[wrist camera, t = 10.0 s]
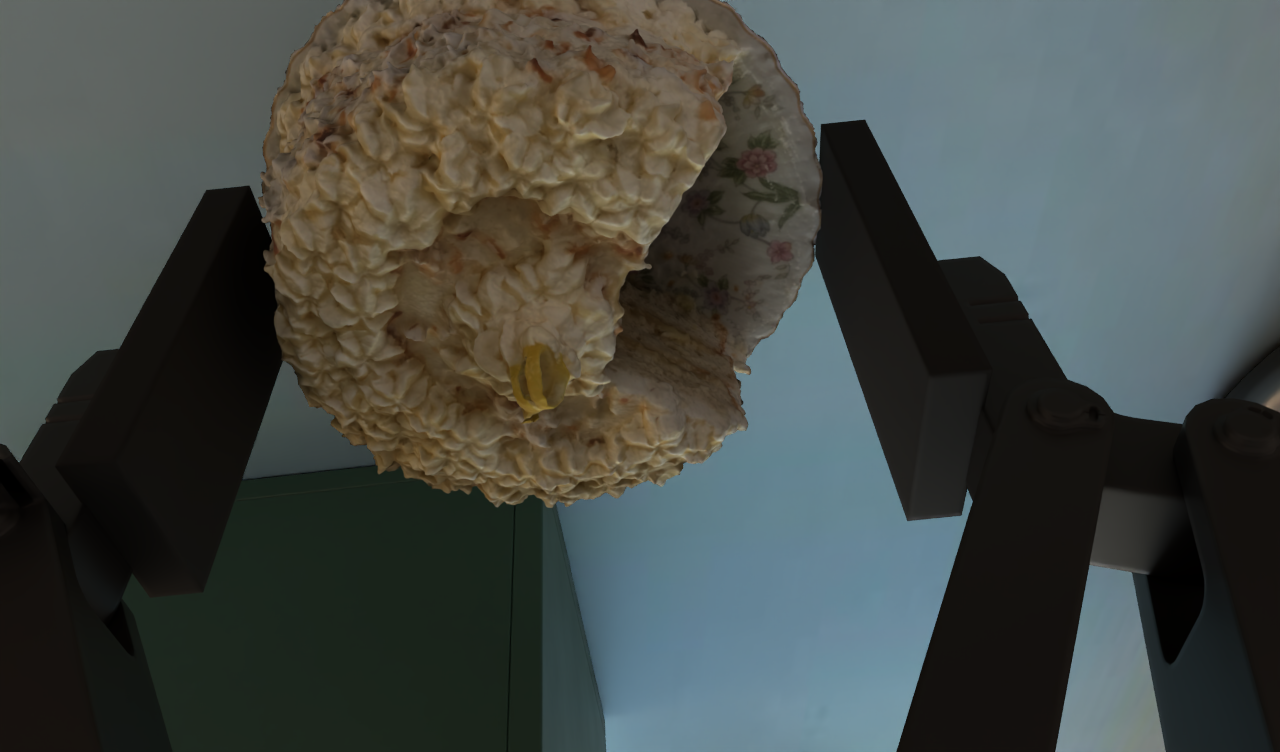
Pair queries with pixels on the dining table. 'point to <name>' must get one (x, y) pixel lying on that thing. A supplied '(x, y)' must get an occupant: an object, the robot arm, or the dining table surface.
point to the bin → (375, 625)
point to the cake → (535, 234)
